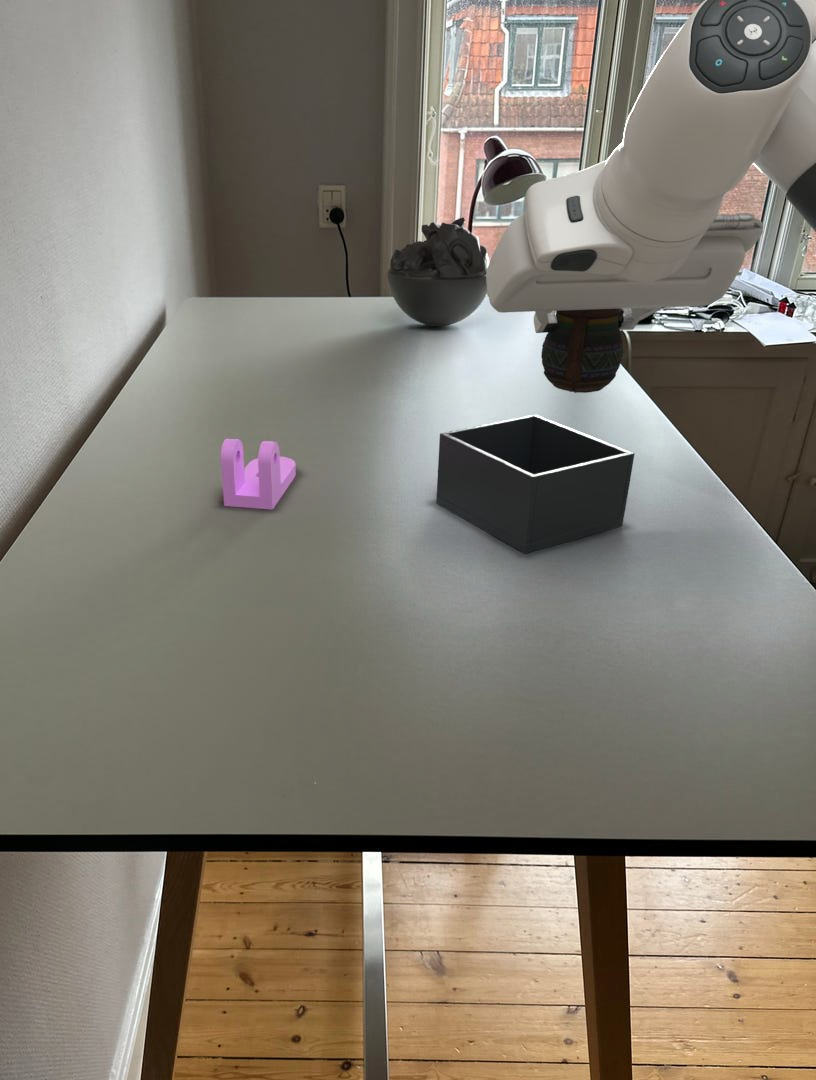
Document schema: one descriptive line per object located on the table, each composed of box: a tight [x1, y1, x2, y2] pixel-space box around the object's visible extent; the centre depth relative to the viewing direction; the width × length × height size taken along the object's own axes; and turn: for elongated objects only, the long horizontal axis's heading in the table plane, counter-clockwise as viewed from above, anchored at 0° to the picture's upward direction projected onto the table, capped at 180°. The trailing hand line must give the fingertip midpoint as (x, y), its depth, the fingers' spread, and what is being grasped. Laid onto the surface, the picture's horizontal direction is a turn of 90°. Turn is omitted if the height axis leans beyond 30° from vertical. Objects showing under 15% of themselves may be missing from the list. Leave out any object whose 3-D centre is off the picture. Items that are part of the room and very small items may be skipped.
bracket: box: [220, 438, 297, 511], centre depth 105 cm, size 13×6×7 cm, turn 168°
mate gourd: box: [540, 309, 624, 394], centre depth 82 cm, size 7×8×10 cm
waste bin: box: [435, 414, 635, 554], centre depth 97 cm, size 13×15×8 cm
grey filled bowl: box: [387, 217, 490, 327], centre depth 175 cm, size 20×20×19 cm
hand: (582, 324), depth 82 cm, fingers closed on mate gourd, 6 cm apart
